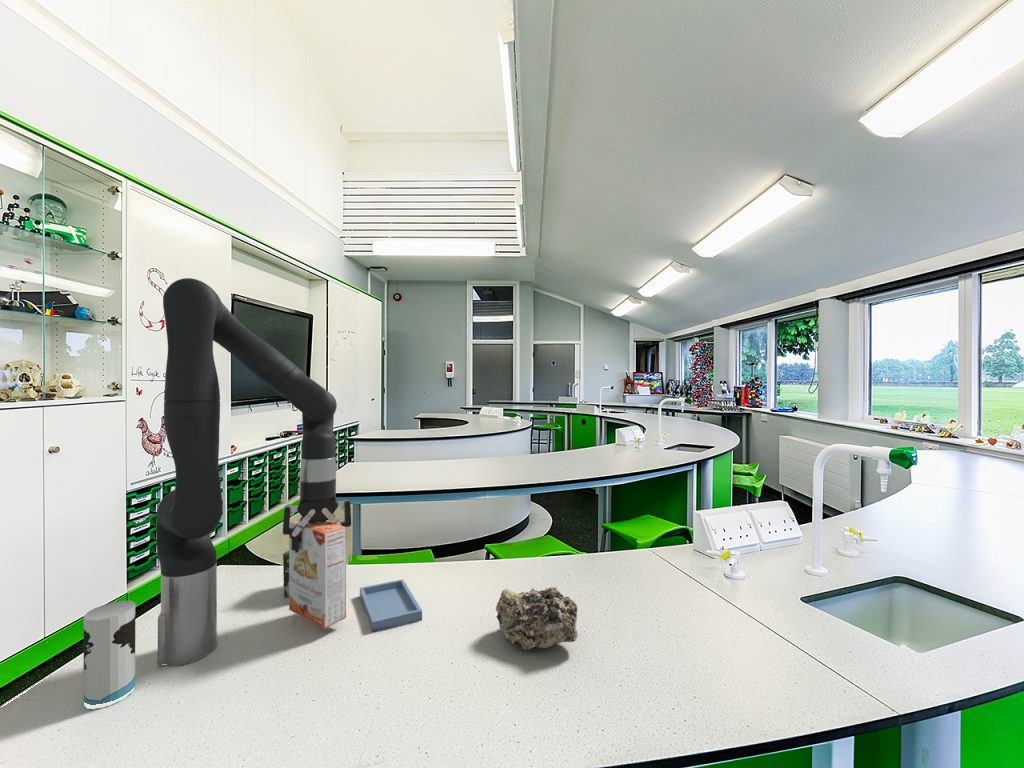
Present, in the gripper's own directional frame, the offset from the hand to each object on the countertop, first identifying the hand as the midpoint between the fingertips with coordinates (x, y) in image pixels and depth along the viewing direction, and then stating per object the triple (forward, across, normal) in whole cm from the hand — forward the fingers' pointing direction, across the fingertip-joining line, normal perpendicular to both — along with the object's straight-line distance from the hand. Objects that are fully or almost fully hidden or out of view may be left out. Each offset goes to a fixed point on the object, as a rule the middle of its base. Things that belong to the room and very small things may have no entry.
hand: (317, 548), depth 101 cm
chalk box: (+17, -1, +19) cm, 26 cm away
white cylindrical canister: (+18, -34, -9) cm, 39 cm away
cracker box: (+15, 0, 0) cm, 15 cm away
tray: (+17, +16, 0) cm, 23 cm away
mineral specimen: (+17, +42, -27) cm, 53 cm away
